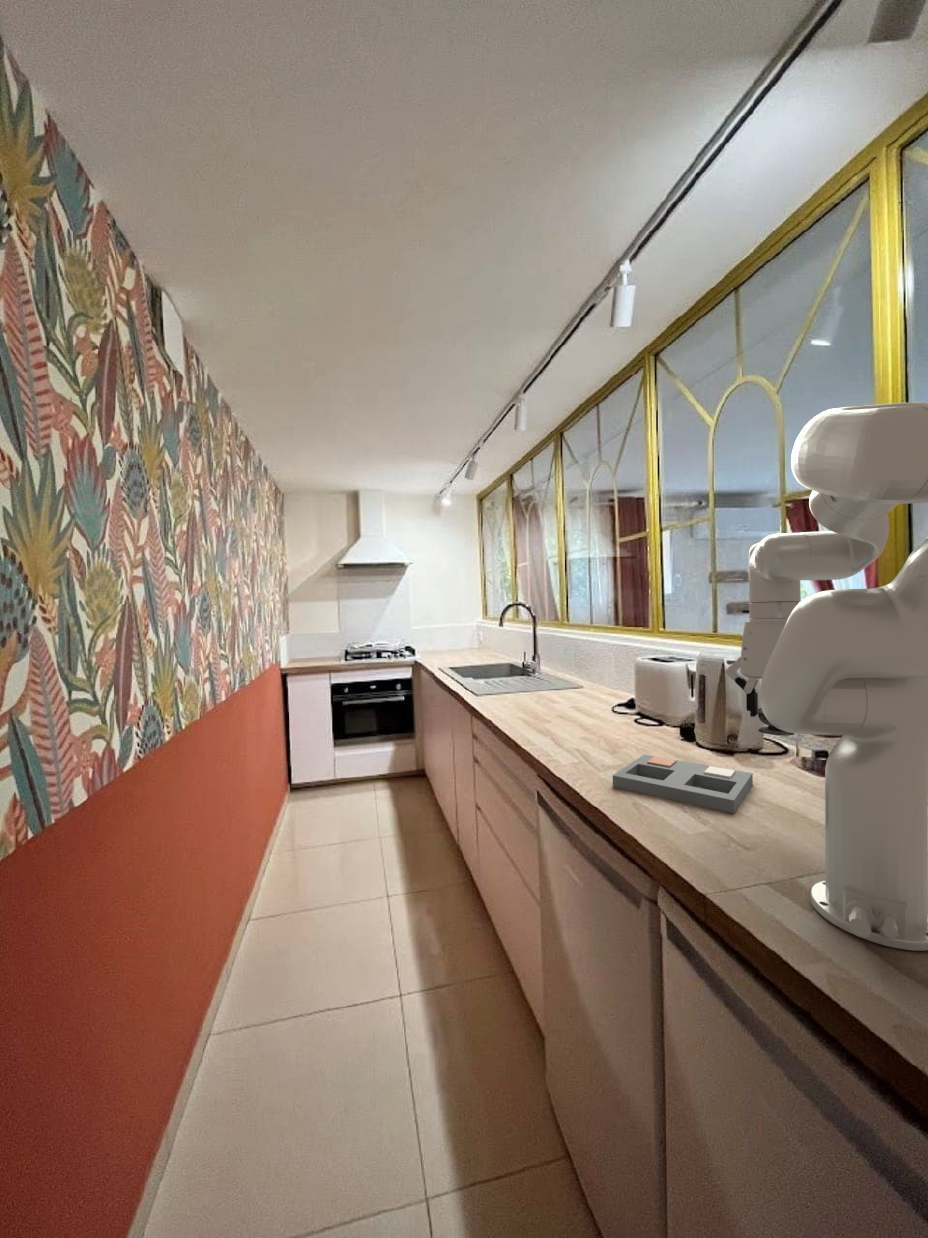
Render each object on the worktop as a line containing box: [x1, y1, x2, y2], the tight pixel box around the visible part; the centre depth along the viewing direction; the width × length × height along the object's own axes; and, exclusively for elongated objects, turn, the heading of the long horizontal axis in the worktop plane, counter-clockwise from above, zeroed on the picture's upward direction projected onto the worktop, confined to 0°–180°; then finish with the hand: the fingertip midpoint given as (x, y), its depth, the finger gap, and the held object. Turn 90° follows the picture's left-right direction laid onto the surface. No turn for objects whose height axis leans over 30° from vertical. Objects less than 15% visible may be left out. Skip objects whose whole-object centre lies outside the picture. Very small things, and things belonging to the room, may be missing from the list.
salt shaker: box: [756, 707, 795, 737], centre depth 85 cm, size 6×6×12 cm
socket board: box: [612, 754, 754, 815], centre depth 105 cm, size 19×23×3 cm
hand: (775, 716), depth 85 cm, fingers closed on salt shaker, 5 cm apart
